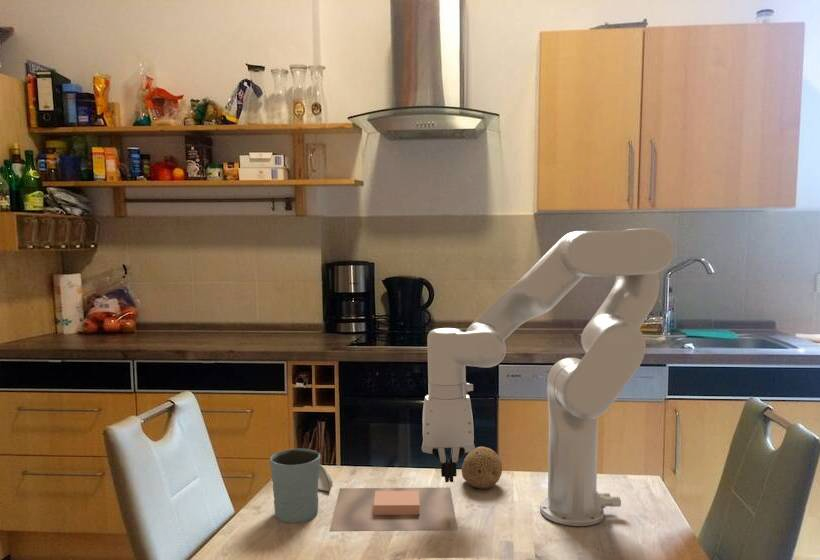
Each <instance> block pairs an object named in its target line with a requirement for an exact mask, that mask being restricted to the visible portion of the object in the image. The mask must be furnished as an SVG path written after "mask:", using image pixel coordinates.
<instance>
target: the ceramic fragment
mask: <svg viewBox="0 0 820 560" xmlns="http://www.w3.org/2000/svg"><path fill="white" fill-rule="evenodd" d="M318 488H319V489H318V492H323V493H331V490H332V488H333V481H332V478H331V476H330V474H329V473H328V471H327V470H326V468H325V466H323V465H322V464H321V463H320V472H319V480H318Z"/></svg>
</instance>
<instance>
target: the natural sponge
mask: <svg viewBox="0 0 820 560" xmlns="http://www.w3.org/2000/svg"><path fill="white" fill-rule="evenodd" d="M502 473H503V463H502V459H501V458H500V456H499V454H498V453H497V452H496V451H494V449H491V448H490V447H487V446H478V447H475V450H474V451H471V452H468V453H467V455H466V456H465V458H464V460H463V462H462V464H461V477H462V478H463V480H464V481H466V482H467V483H468V484H469V485H470V486H472V487H473V488H475V489H480V490H486V489H491V488H493V487H494V486H495V485H496V484H497V483H498V482H499V480H500V478H501V476H502Z"/></svg>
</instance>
